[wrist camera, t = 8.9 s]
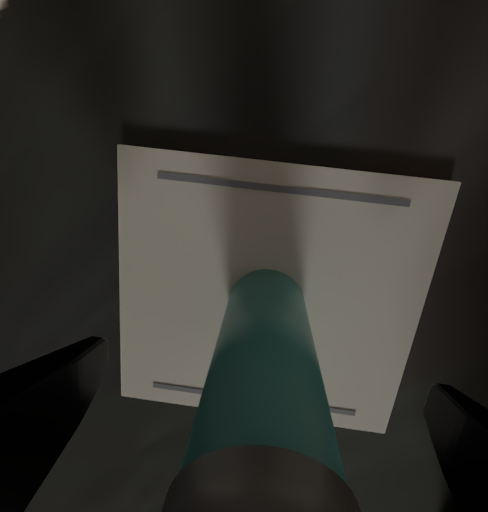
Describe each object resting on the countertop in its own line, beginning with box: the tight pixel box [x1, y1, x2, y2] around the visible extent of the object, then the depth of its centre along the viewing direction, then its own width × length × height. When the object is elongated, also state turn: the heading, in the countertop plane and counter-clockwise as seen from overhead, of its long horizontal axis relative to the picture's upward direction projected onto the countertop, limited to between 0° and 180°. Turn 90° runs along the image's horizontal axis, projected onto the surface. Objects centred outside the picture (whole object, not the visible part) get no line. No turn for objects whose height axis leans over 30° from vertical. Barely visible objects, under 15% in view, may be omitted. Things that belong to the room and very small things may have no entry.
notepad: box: [117, 144, 461, 434], centre depth 13 cm, size 12×11×1 cm
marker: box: [162, 269, 360, 512], centre depth 8 cm, size 3×3×10 cm
